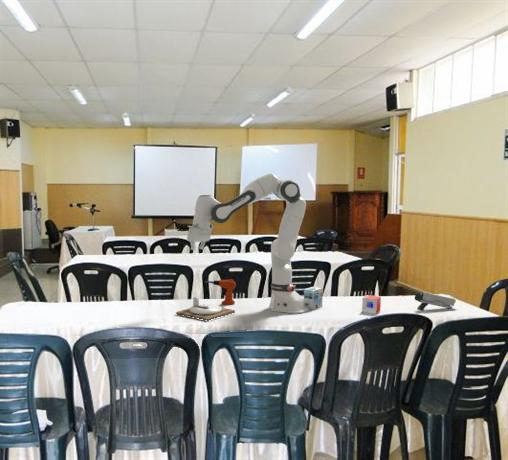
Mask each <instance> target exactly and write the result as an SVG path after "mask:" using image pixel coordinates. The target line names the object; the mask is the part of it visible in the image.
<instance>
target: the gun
mask: <svg viewBox="0 0 508 460" xmlns="http://www.w3.org/2000/svg"><path fill="white" fill-rule="evenodd" d="M414 301H417V302H419V303H420V304H419V306H417V308H416V309H417V310H420V311H424V310H425V308H426V307H427V306H429V305H431V306H436V307H437V306H438V307H440V308H446V309H450V310H451V309H453V307H454V306H455V303H456V301H457V300H456V298H453V297H448V296H443V295H439V294H434V293H430V292H425V291H421V292H418V291H417V292H416V293H415V295H414Z"/></svg>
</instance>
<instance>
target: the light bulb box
mask: <svg viewBox="0 0 508 460" xmlns="http://www.w3.org/2000/svg"><path fill="white" fill-rule="evenodd" d="M323 291H324V290H323V288H322V287H316V286H311V287H307V288H304V289H303V299H304V304H305V307H308V308H309V310H315V309H318V308H322V307H323Z"/></svg>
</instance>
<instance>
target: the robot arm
mask: <svg viewBox="0 0 508 460" xmlns="http://www.w3.org/2000/svg"><path fill="white" fill-rule="evenodd" d="M272 194H274V195H275V196H276V198H278V199H280V200H282V201H285V203H286V206H285V210H284V212H283V215H282V218H281V221H280V224H279V229H278V234H277V238H276V239H274V240H273V241H272V242H271V245H270V253H271V254H270V256H271V278H272V279H271V285H270V288H271V289H270V291H271V295H270V302H269V306H268V309H270V311H271V312H278V313H279V312H280V313H285V314H287V313H288V314H295V315H297V314H298V315H299V314H303V313H306V312H308V311H310V309H309V308H308V307H305V304H304V297H302V296H301V295H300V294H299V293H298V292H297V291H296V289H295V288H296V284H293V282H292V281H293V267H292V261H291V259H292V258H293V257H294V255H295V253H296V252H295V251H296V247H297V242H298V241H297V240H298V236H299V233H300V232H299V231H300V229H301V226H302V223H303V220H304V217H305V213H306V208H307V202H306V200H305V199H304V198H303V197H301V191H300V186H299V184H298V183H297V182H296V181H294V180H289V179H287V180H286V179H285V180H279V178H278V176H277V175H276V174H274V173H267V174H265V175H263V176H260V177H258V178H257V179H255V180H254V179H253V180H252V181H250V183H249V184H247V185H245V187H244V189H243V191H242V192H241V193H240V194H239V195H238V196H235V197H234V198H232V199H231V200H229V201H228V202H225V203H223V202H220V201H218V200H217V199H215V198H214V197H213V196H212V195H210V194H202V195H199V196H198V197H196V202H195V205H194V206H195V207H194V216H193V221H192V225H191V226H190V227H189V229H188V232H187V236H186V241H187V242H189V243H190V250H191V251H195V250H196V246H195V244H196V242H200V245H199V250H203V249H204V247H205V245H206V242H209V241H210V240H211V235H212V229H213V228H214V225H213V224H212V223H211V222H210V221H211V219H212V220H213V221H214V222H216V223H218V224H224V223H225V222H227V221H228V220H229V219H230V218H231V216H232V215H233V214H234V213H236V212H237V211H239V210H241V209H242V208H244V207H245V206H247V205H250V204H252V203H256V202H258V201H259V202H260V201H261V200H263V199H265V198H266V197H268V196H269V195H272Z"/></svg>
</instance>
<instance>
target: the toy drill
mask: <svg viewBox="0 0 508 460" xmlns="http://www.w3.org/2000/svg"><path fill="white" fill-rule="evenodd" d="M204 283H206V284H213V286H218V287H221V288H223V289H224V291H223V292H222V295H223V296H224V300H223V301H221V305H223V306H231V305H232V306H233V305H235V303H236V302H235V300H234V299H233V291H234V289H235V288H236V287H237V283H236V282H235V281H234V279H231V278H230V279H220V280H212V281H211V280H205V281H204Z"/></svg>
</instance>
